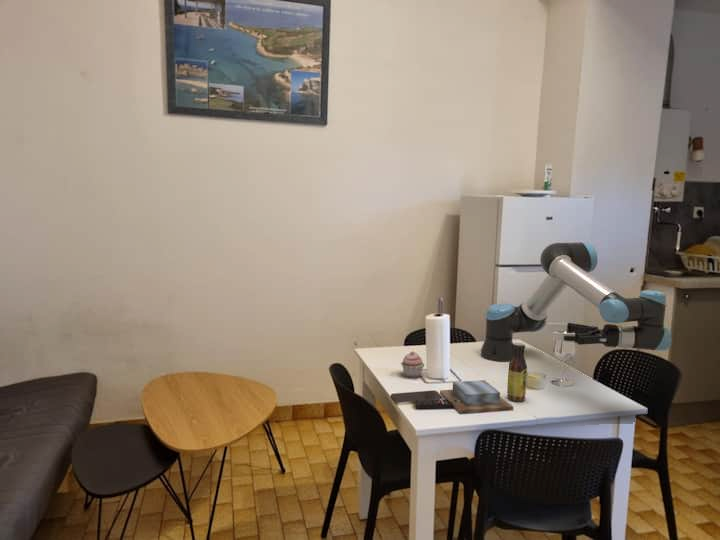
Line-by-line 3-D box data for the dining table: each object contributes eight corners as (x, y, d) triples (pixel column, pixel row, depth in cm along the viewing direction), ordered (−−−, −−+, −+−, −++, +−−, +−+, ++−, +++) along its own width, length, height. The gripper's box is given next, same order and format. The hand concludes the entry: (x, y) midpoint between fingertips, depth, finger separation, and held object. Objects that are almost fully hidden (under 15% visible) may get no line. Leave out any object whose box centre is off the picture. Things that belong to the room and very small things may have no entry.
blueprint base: (488, 390, 190) (489, 376, 189) (513, 410, 172) (514, 395, 172) (439, 393, 186) (440, 379, 185) (459, 414, 168) (460, 398, 168)
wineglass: (574, 381, 200) (578, 331, 198) (570, 387, 194) (574, 336, 191) (553, 377, 205) (557, 328, 202) (548, 383, 198) (552, 332, 196)
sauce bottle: (526, 403, 178) (529, 347, 176) (507, 401, 180) (510, 346, 177) (524, 396, 185) (527, 342, 182) (506, 394, 186) (509, 341, 183)
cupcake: (395, 375, 204) (396, 351, 202) (409, 370, 211) (410, 346, 209) (414, 381, 198) (415, 356, 196) (428, 375, 205) (429, 351, 203)
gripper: (626, 357, 160) (554, 352, 165) (607, 337, 184) (544, 333, 189) (628, 334, 159) (556, 329, 164) (609, 317, 183) (546, 313, 188)
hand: (550, 331), depth 177 cm, fingers open, 13 cm apart
